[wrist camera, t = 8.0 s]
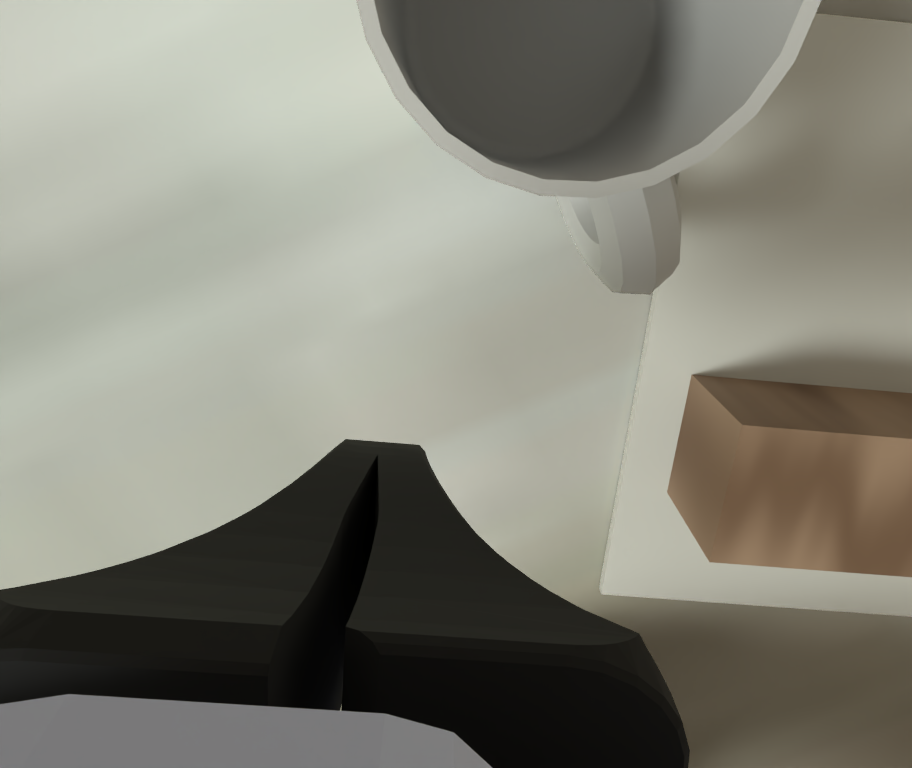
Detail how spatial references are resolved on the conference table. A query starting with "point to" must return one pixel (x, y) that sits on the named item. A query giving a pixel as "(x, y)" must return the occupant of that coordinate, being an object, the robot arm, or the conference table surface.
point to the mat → (779, 300)
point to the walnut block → (796, 475)
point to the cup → (589, 102)
